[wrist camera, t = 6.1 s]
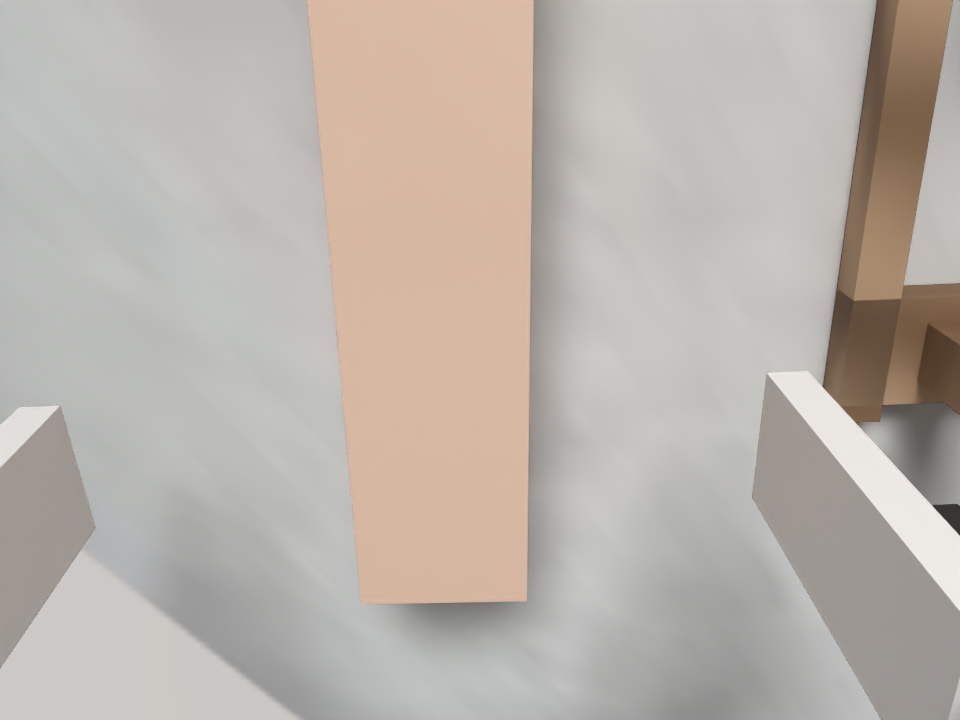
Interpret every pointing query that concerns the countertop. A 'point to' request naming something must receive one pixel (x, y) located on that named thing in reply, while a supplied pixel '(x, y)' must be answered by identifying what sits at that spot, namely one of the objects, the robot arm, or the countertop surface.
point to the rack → (893, 232)
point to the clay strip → (431, 285)
